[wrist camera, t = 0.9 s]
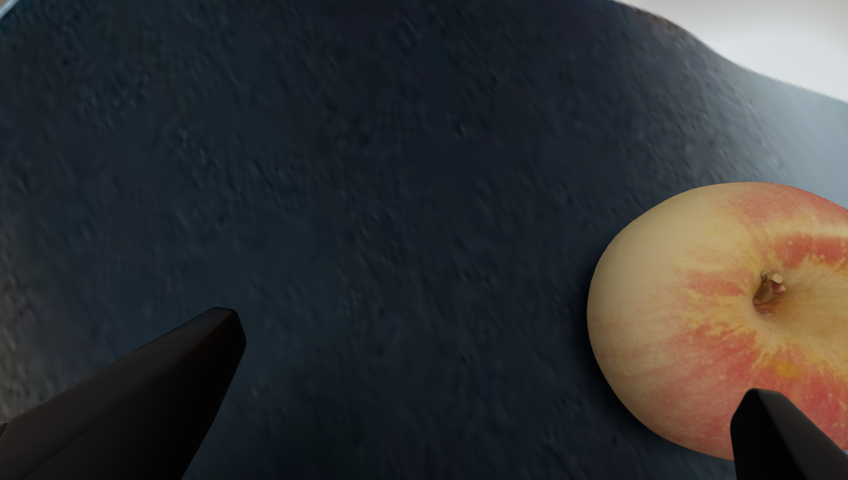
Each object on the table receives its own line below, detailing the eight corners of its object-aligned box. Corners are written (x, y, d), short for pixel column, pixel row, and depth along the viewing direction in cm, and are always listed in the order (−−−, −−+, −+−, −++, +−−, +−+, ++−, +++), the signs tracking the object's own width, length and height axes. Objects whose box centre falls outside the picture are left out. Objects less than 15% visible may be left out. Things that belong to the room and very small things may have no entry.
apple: (823, 337, 20) (1068, 303, 12) (684, 498, 18) (866, 577, 10) (656, 194, 22) (774, 87, 14) (518, 326, 20) (568, 286, 12)
